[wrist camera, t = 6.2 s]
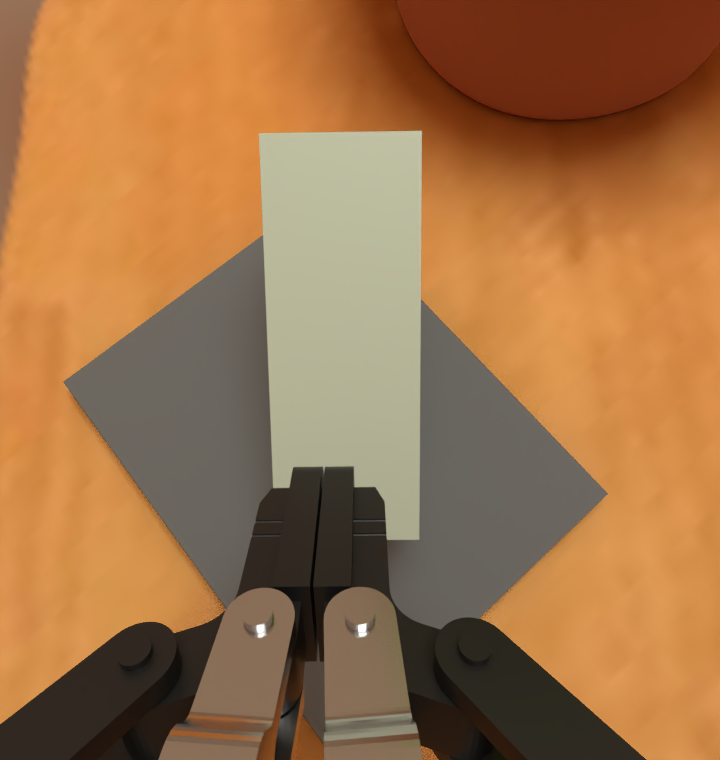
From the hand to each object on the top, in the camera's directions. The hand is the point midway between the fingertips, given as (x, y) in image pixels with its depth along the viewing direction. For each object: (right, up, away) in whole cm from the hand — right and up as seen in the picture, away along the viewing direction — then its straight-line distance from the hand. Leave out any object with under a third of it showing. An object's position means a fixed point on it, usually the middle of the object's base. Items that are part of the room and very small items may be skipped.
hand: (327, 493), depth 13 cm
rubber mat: (-1, 0, +9) cm, 9 cm away
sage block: (0, -2, +5) cm, 6 cm away
